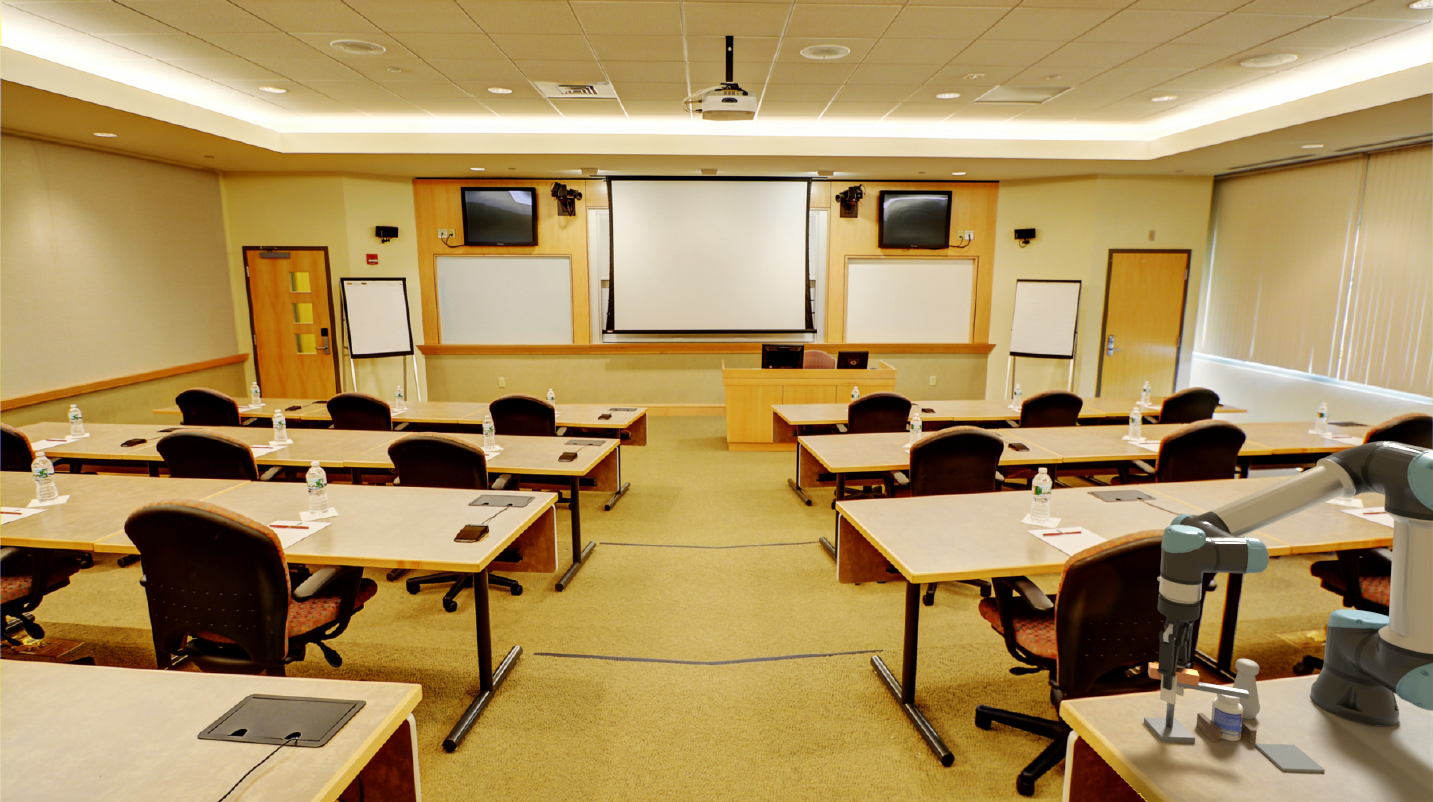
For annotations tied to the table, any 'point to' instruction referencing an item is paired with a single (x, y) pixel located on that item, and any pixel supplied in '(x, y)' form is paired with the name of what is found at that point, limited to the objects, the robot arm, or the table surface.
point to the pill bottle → (1228, 716)
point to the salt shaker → (1248, 686)
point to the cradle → (1214, 730)
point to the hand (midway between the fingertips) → (1171, 696)
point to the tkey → (1192, 687)
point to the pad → (1289, 758)
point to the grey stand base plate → (1169, 730)
